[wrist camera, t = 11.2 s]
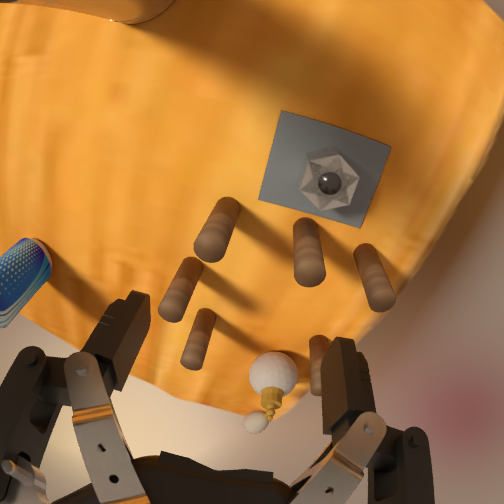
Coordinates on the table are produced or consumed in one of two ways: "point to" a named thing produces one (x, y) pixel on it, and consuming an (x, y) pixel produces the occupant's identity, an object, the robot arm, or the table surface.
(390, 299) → the post field
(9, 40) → the table surface
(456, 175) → the table surface
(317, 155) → the nut
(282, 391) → the perfume bottle
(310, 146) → the felt mat
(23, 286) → the beer can
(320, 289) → the table surface
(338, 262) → the table surface
